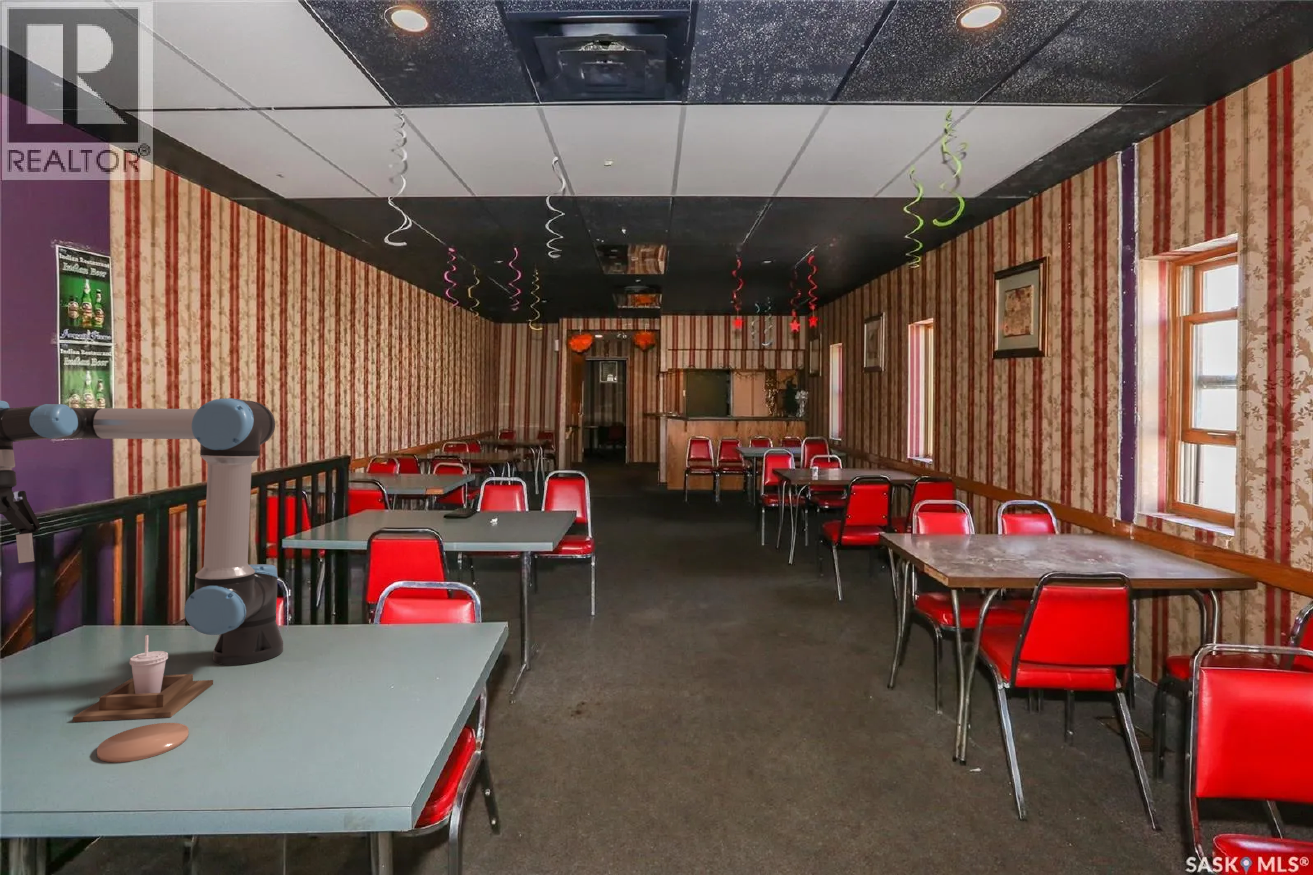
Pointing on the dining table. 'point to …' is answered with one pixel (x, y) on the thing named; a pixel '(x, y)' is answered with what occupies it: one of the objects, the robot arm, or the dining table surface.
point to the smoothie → (148, 670)
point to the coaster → (142, 742)
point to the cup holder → (145, 700)
